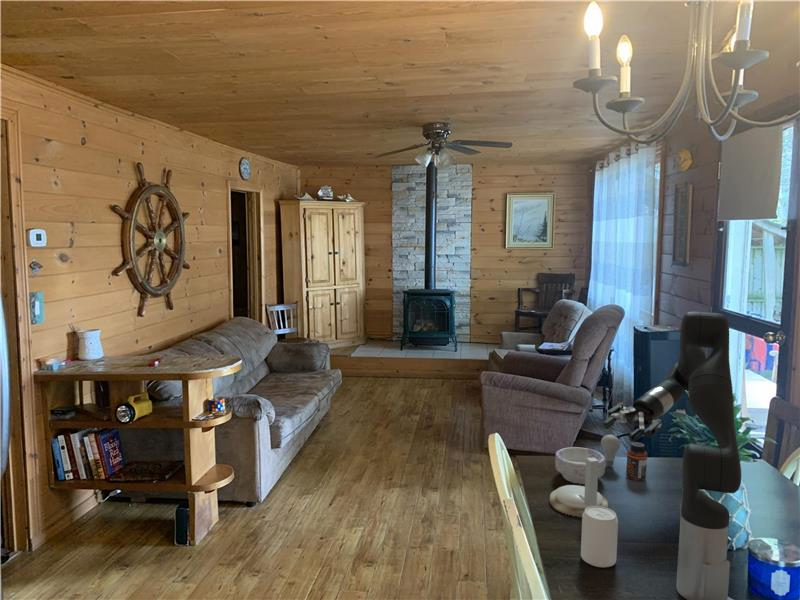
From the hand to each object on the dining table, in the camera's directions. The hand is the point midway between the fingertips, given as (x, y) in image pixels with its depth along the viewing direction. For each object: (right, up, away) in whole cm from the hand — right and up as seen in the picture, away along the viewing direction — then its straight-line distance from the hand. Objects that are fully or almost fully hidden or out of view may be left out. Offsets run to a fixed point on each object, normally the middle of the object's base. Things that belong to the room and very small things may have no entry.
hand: (617, 432), depth 164 cm
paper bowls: (-4, -20, +23) cm, 31 cm away
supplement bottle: (+15, -20, +23) cm, 34 cm away
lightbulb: (+9, -19, +32) cm, 38 cm away
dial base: (-10, -22, +5) cm, 24 cm away
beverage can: (-14, -26, -24) cm, 37 cm away
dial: (-9, -20, +4) cm, 23 cm away
